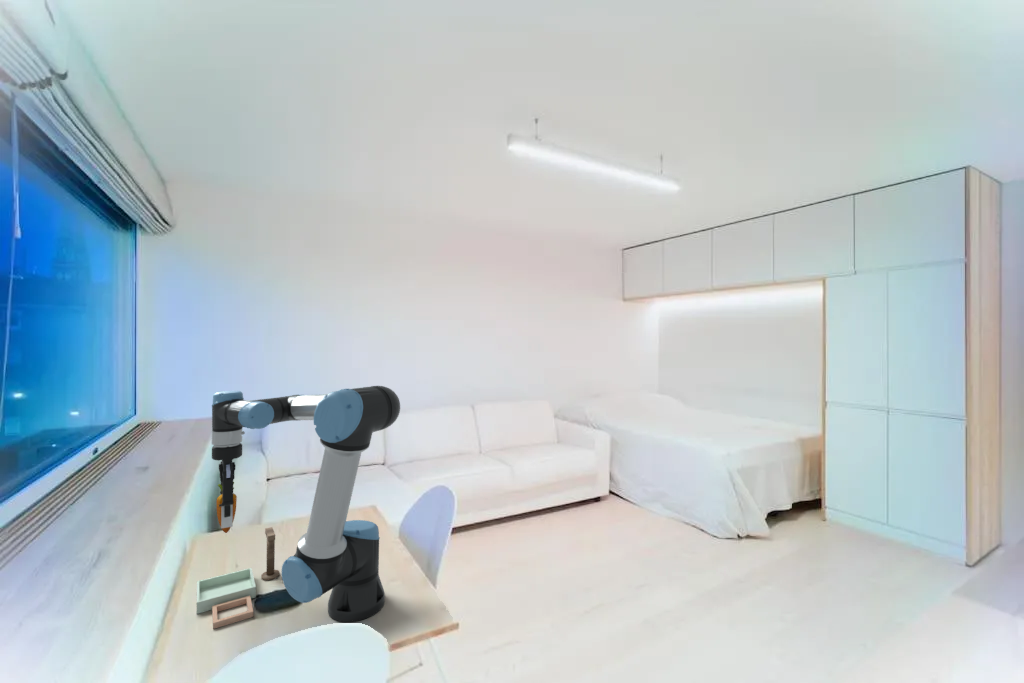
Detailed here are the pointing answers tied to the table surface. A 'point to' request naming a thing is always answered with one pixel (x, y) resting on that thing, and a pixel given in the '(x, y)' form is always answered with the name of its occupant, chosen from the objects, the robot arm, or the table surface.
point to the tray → (225, 589)
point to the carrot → (219, 501)
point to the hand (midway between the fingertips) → (226, 523)
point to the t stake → (270, 556)
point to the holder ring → (232, 618)
